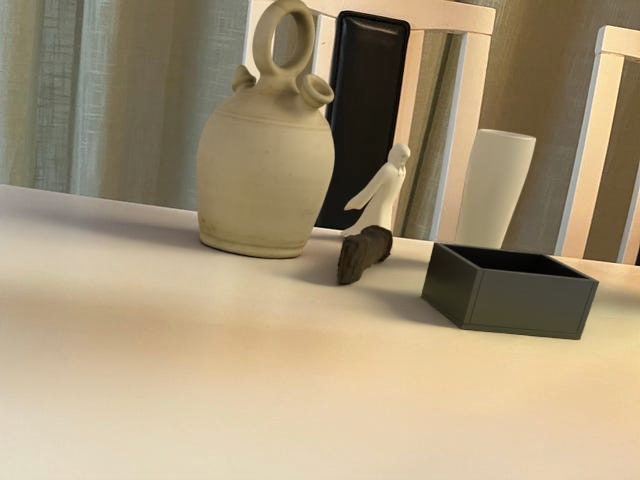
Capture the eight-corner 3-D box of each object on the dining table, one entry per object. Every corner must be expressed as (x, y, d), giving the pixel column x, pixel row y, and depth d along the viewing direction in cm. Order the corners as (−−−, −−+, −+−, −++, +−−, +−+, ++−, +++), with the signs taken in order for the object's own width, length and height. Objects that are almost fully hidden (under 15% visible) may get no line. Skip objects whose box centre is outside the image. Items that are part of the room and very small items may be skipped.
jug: (339, 265, 115) (391, 9, 102) (216, 259, 110) (254, -12, 96) (281, 236, 127) (321, 3, 114) (167, 229, 121) (195, -16, 108)
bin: (528, 307, 107) (544, 253, 104) (580, 339, 97) (600, 281, 94) (420, 296, 106) (433, 241, 103) (461, 329, 95) (478, 269, 92)
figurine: (369, 250, 125) (392, 144, 119) (321, 236, 130) (341, 133, 124) (405, 247, 130) (429, 145, 124) (358, 234, 135) (378, 135, 128)
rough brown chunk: (356, 256, 121) (364, 215, 118) (388, 263, 120) (397, 221, 117) (313, 283, 106) (322, 236, 103) (350, 290, 104) (359, 243, 102)
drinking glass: (477, 265, 125) (514, 131, 117) (509, 278, 120) (549, 140, 112) (431, 262, 123) (465, 126, 115) (461, 276, 118) (499, 135, 110)
